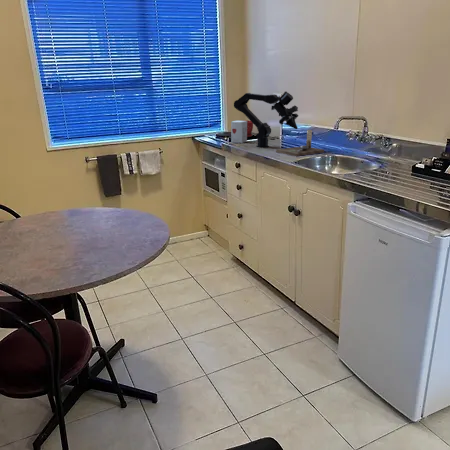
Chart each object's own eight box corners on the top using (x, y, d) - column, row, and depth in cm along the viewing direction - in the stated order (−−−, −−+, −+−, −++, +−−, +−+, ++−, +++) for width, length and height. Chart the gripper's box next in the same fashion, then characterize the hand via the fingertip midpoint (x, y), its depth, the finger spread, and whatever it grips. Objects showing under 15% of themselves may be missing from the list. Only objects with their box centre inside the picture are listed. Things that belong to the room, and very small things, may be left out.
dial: (301, 151, 257) (302, 133, 253) (294, 151, 259) (295, 132, 255) (312, 147, 272) (313, 130, 268) (306, 146, 274) (307, 129, 270)
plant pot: (233, 136, 341) (233, 120, 337) (248, 135, 346) (248, 120, 342) (241, 138, 330) (241, 122, 326) (255, 137, 335) (256, 121, 331)
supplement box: (230, 142, 310) (230, 121, 305) (236, 140, 317) (236, 120, 312) (242, 143, 306) (242, 121, 301) (247, 141, 313) (247, 120, 308)
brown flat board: (295, 156, 254) (295, 153, 254) (276, 152, 269) (276, 149, 268) (324, 152, 267) (324, 149, 266) (304, 148, 281) (304, 145, 280)
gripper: (284, 102, 262) (300, 121, 260) (296, 100, 277) (311, 118, 275) (272, 114, 269) (287, 133, 267) (284, 112, 283) (299, 130, 282)
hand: (297, 128), depth 272 cm, fingers closed
